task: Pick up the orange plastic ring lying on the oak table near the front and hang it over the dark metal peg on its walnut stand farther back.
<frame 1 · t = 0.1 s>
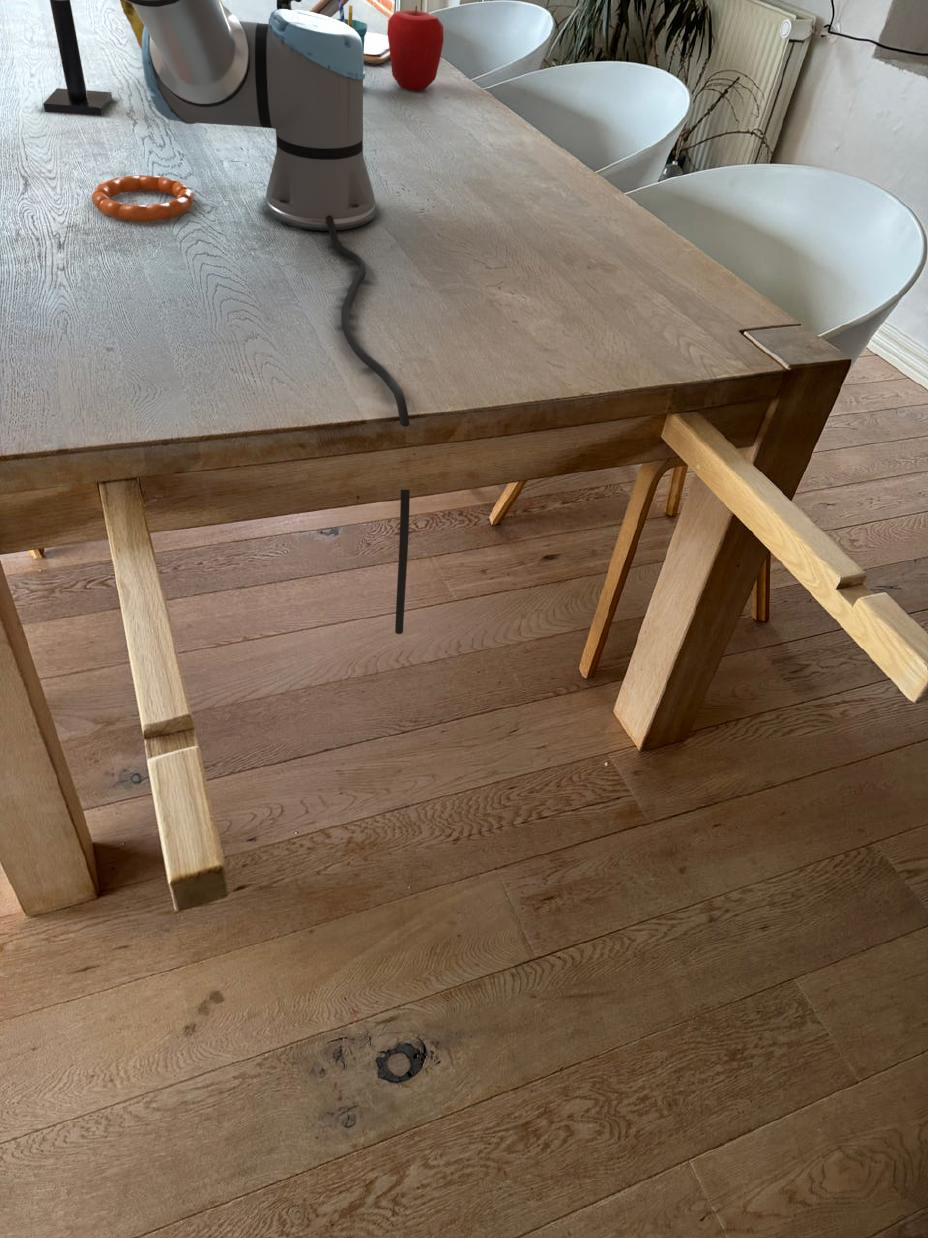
hand: (237, 30, 138), 15 cm above the table, tool tilted 35°, fingers open, 13 cm apart
pitcher: (184, 77, 171), on the table
apple: (413, 87, 179), on the table
peg stand: (79, 105, 153), on the table
ring: (143, 197, 125), point 1 cm above the table
cup: (346, 88, 175), on the table
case: (349, 50, 195), on the table
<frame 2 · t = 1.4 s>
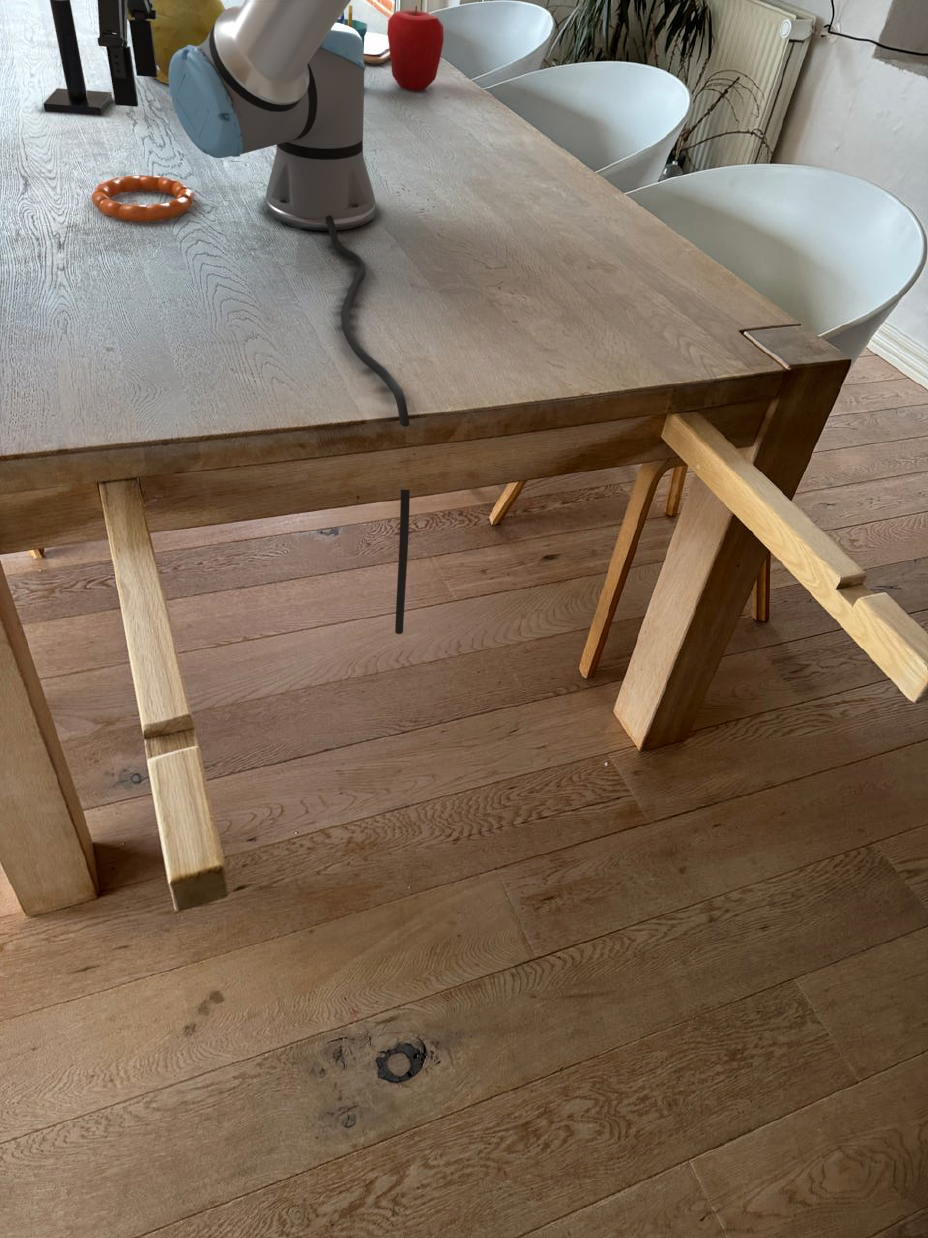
hand: (137, 90, 121), 13 cm above the table, tool pointing down, fingers open, 13 cm apart
nothing on the table moved.
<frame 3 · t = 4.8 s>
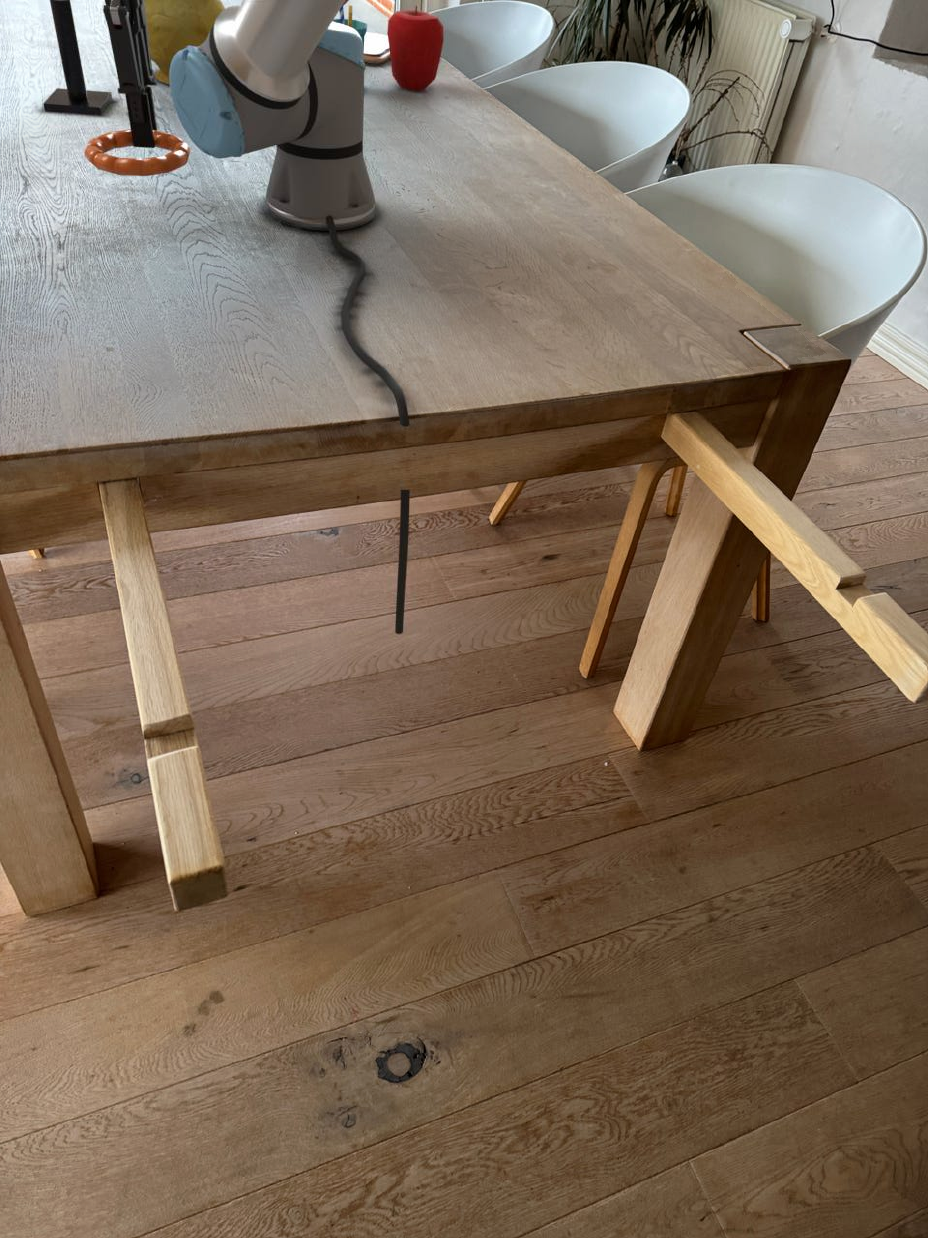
hand: (146, 142, 125), 6 cm above the table, tool pointing down, fingers closed on ring, 2 cm apart
ring: (138, 151, 120), point 7 cm above the table, touching gripper
everything else where it was.
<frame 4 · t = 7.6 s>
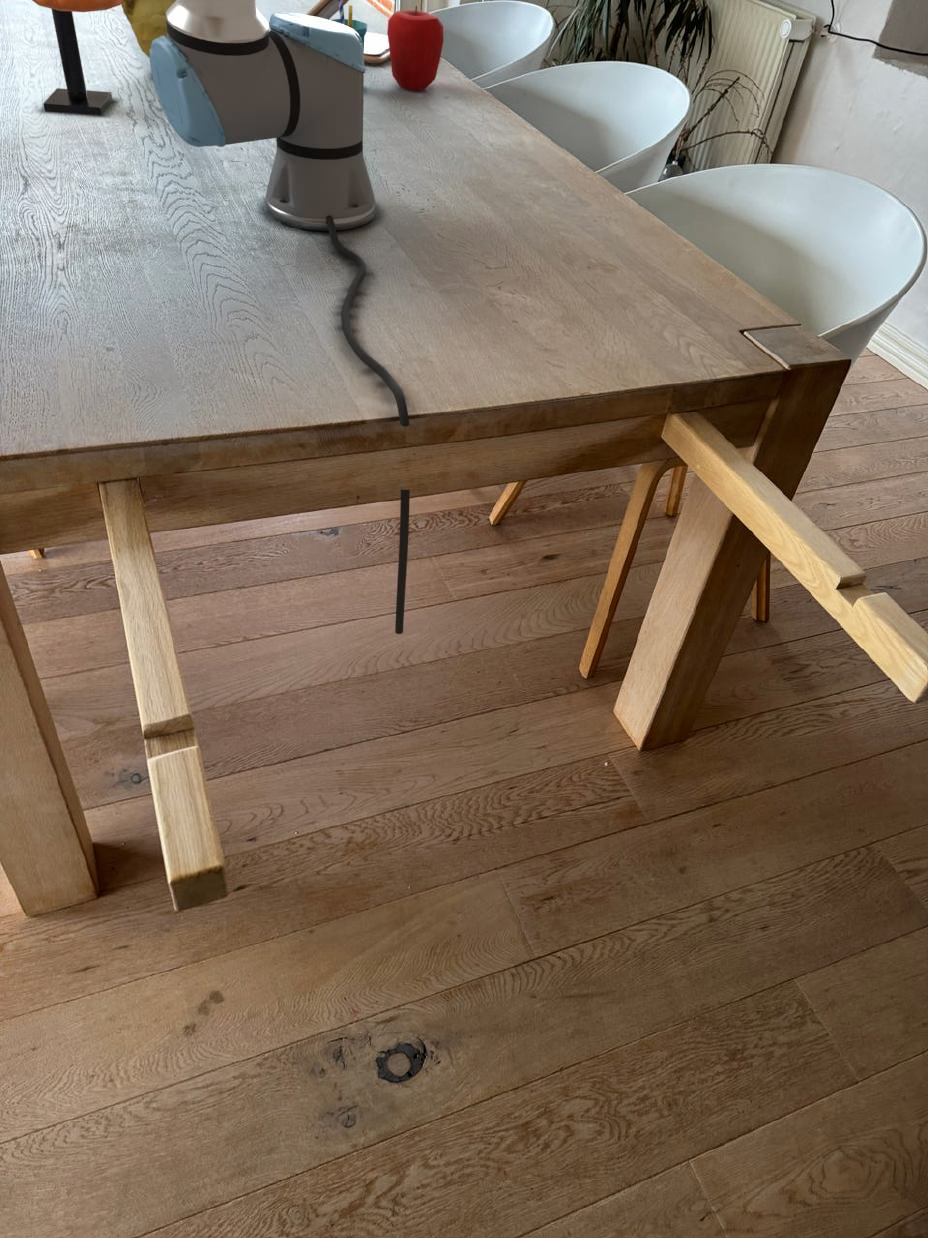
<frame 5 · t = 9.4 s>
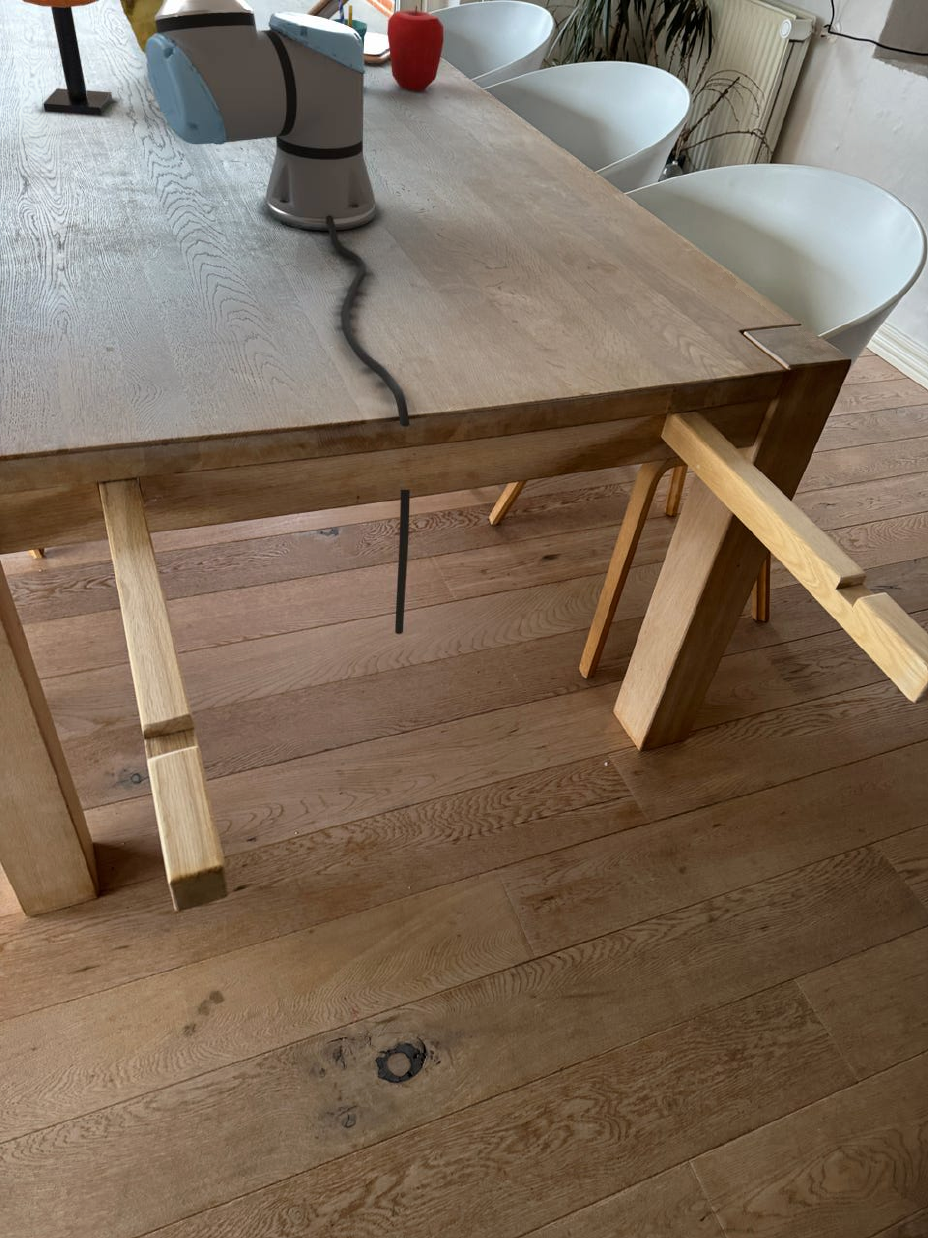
when the fingers open (12 cm above the table, at t = 10.9 s): ring drops 10 cm, resting on peg stand.
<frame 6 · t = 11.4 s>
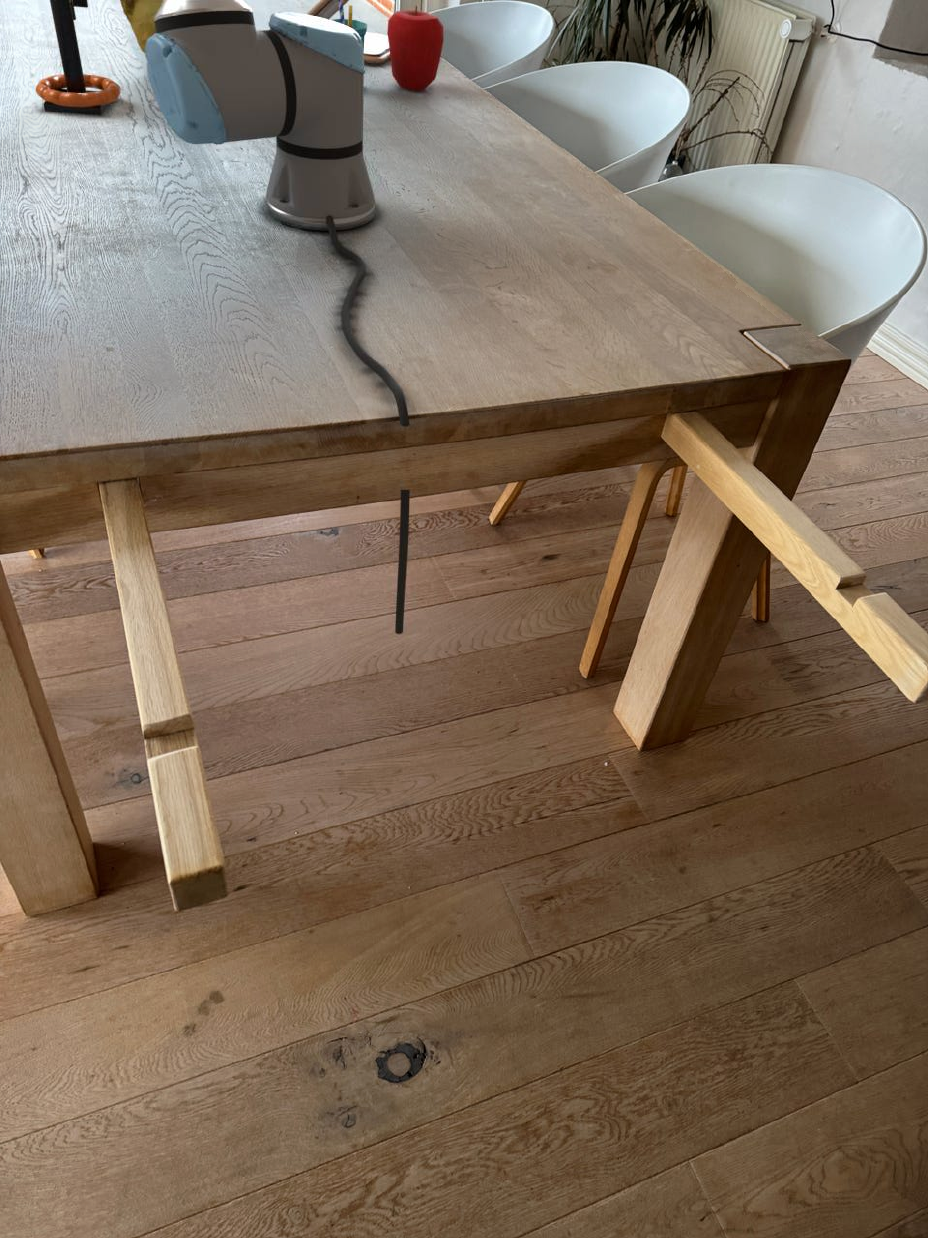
hand: (73, 12, 149), 12 cm above the table, tool pointing down, fingers open, 8 cm apart
ring: (78, 89, 152), point 2 cm above the table, touching peg stand
everything else where it was.
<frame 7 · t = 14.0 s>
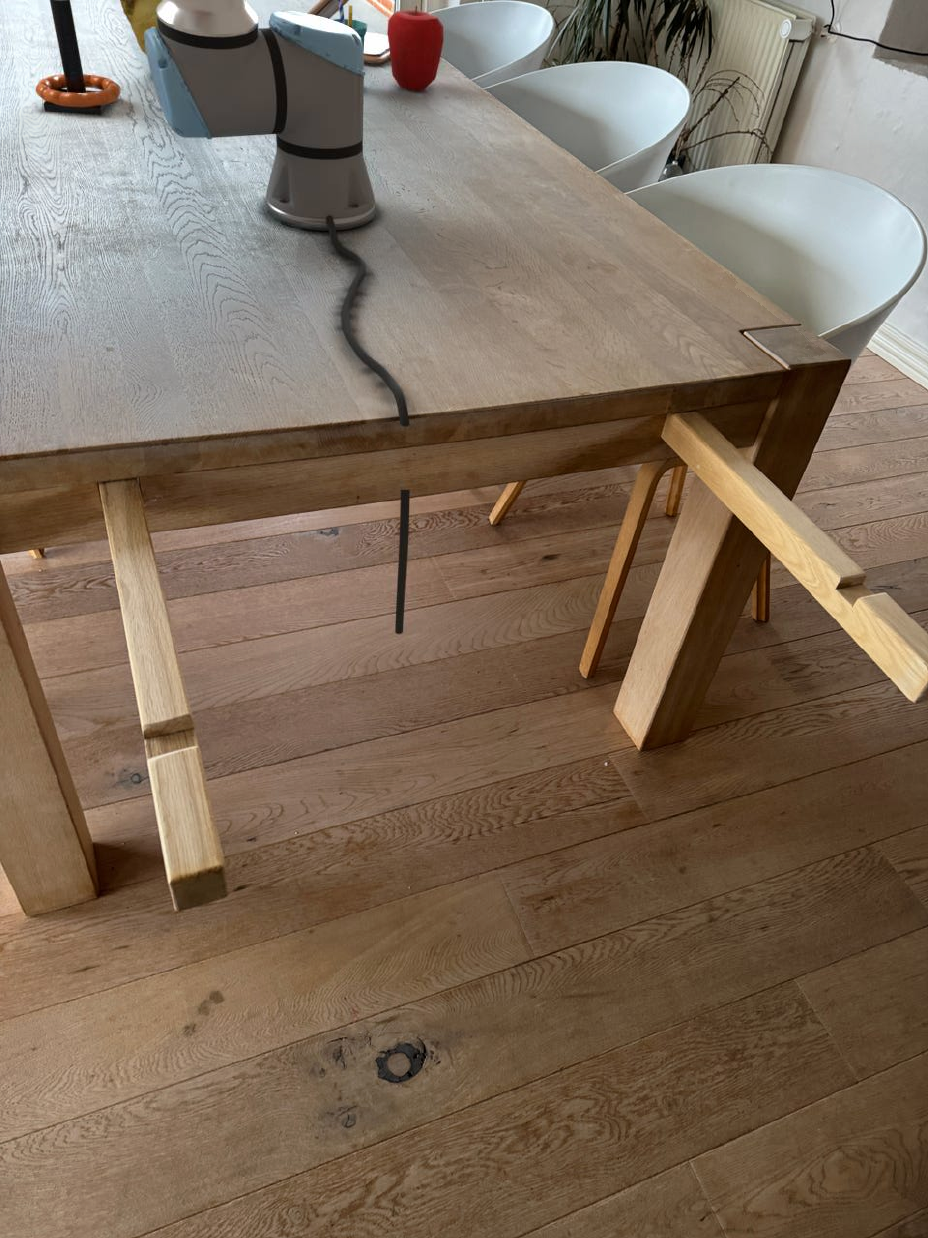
nothing on the table moved.
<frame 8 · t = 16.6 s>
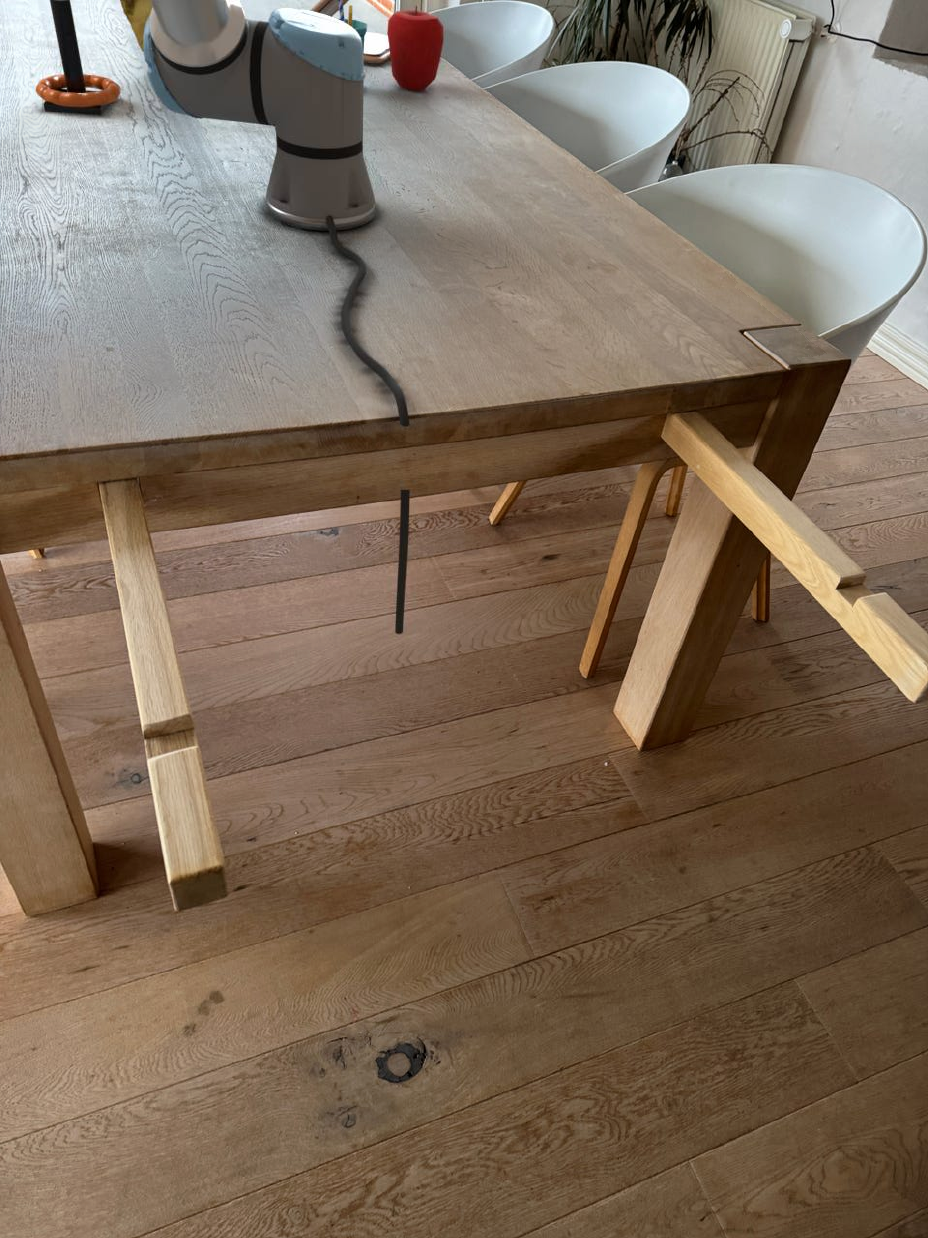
nothing on the table moved.
at the end: ring 0.6 cm off-centre on the peg stand, point 2.2 cm above the peg stand's base; the gripper is holding nothing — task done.
